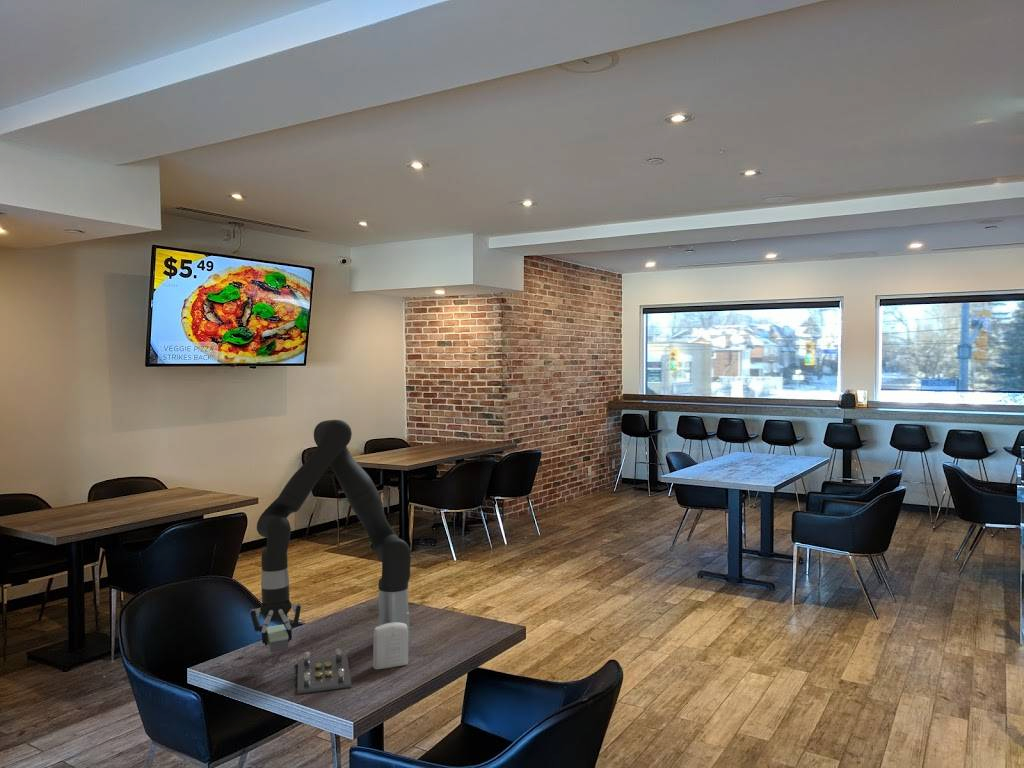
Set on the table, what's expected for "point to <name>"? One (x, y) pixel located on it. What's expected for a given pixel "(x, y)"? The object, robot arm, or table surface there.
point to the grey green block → (277, 638)
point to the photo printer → (390, 645)
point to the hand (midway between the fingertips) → (277, 642)
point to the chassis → (323, 673)
